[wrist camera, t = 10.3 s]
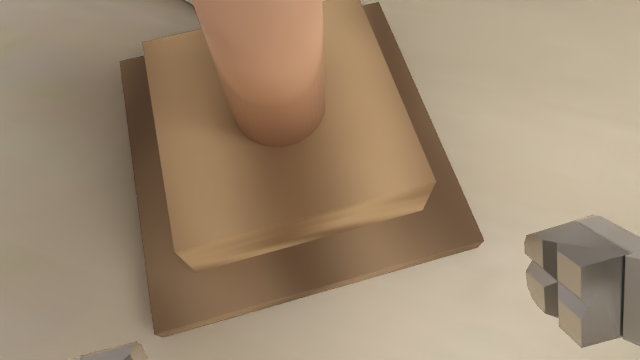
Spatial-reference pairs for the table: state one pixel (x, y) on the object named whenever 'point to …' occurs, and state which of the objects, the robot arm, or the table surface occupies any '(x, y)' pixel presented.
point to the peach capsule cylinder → (268, 64)
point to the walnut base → (304, 261)
